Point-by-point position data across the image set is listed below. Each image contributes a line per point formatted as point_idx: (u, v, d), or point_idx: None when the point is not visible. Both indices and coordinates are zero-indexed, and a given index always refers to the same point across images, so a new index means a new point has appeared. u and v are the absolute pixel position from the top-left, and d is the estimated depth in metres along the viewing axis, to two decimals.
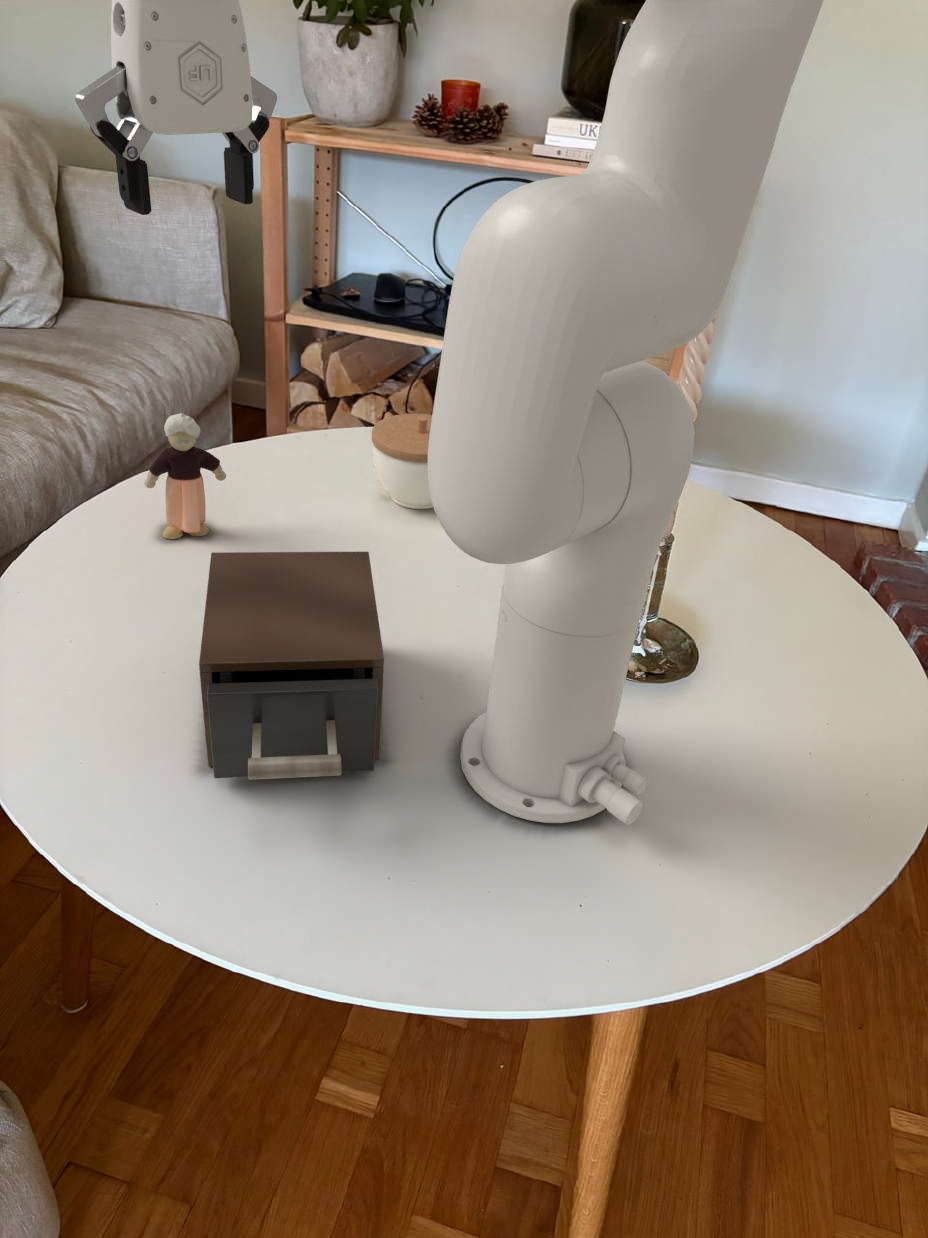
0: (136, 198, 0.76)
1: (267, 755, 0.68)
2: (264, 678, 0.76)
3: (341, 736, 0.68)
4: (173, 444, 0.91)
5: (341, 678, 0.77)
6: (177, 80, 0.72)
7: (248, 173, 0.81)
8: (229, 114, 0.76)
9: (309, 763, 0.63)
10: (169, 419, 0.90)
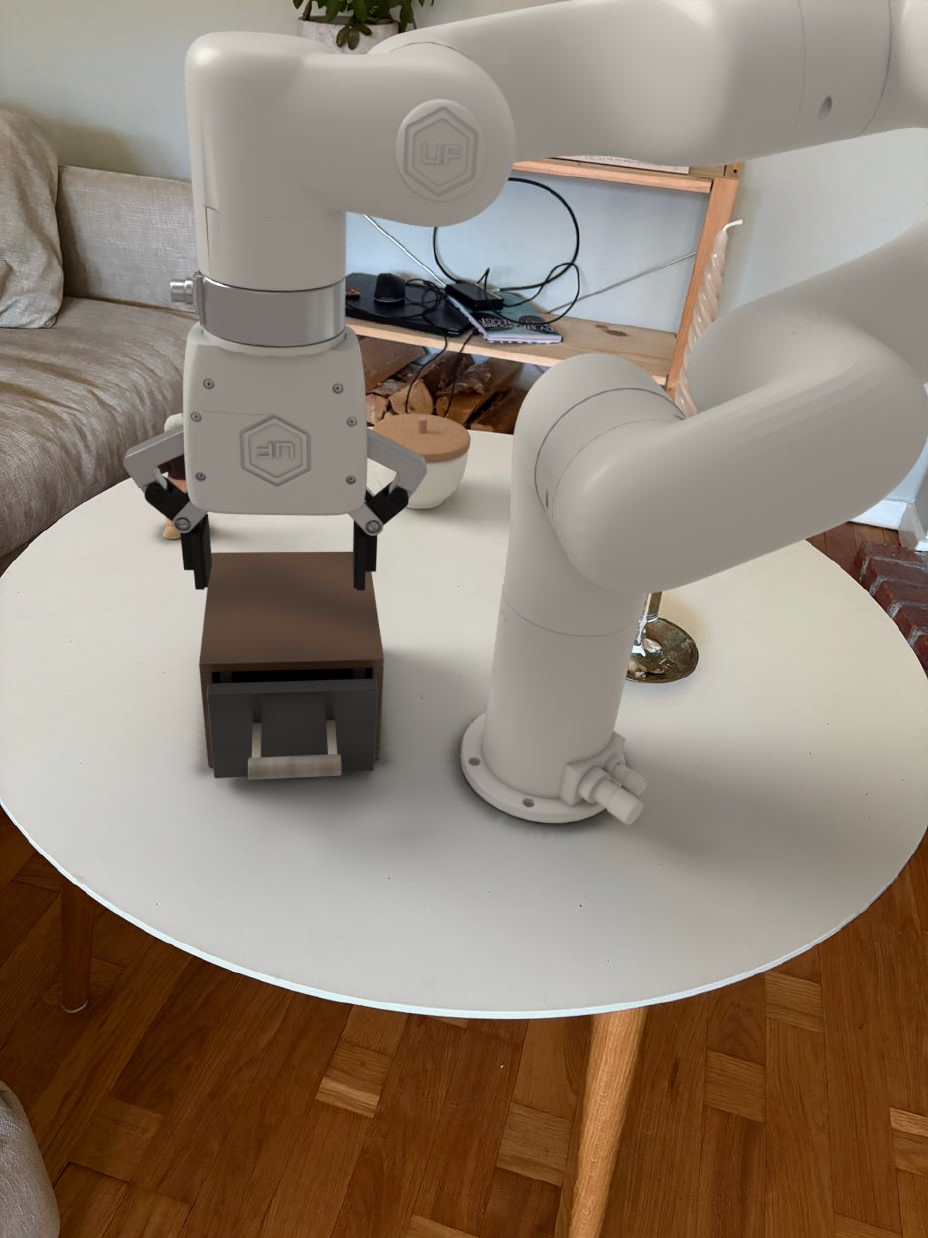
0: None
1: (267, 755, 0.68)
2: (264, 678, 0.76)
3: (341, 736, 0.68)
4: None
5: (341, 678, 0.77)
6: (238, 457, 0.52)
7: (360, 558, 0.58)
8: (320, 498, 0.54)
9: (309, 763, 0.63)
10: (169, 419, 0.90)
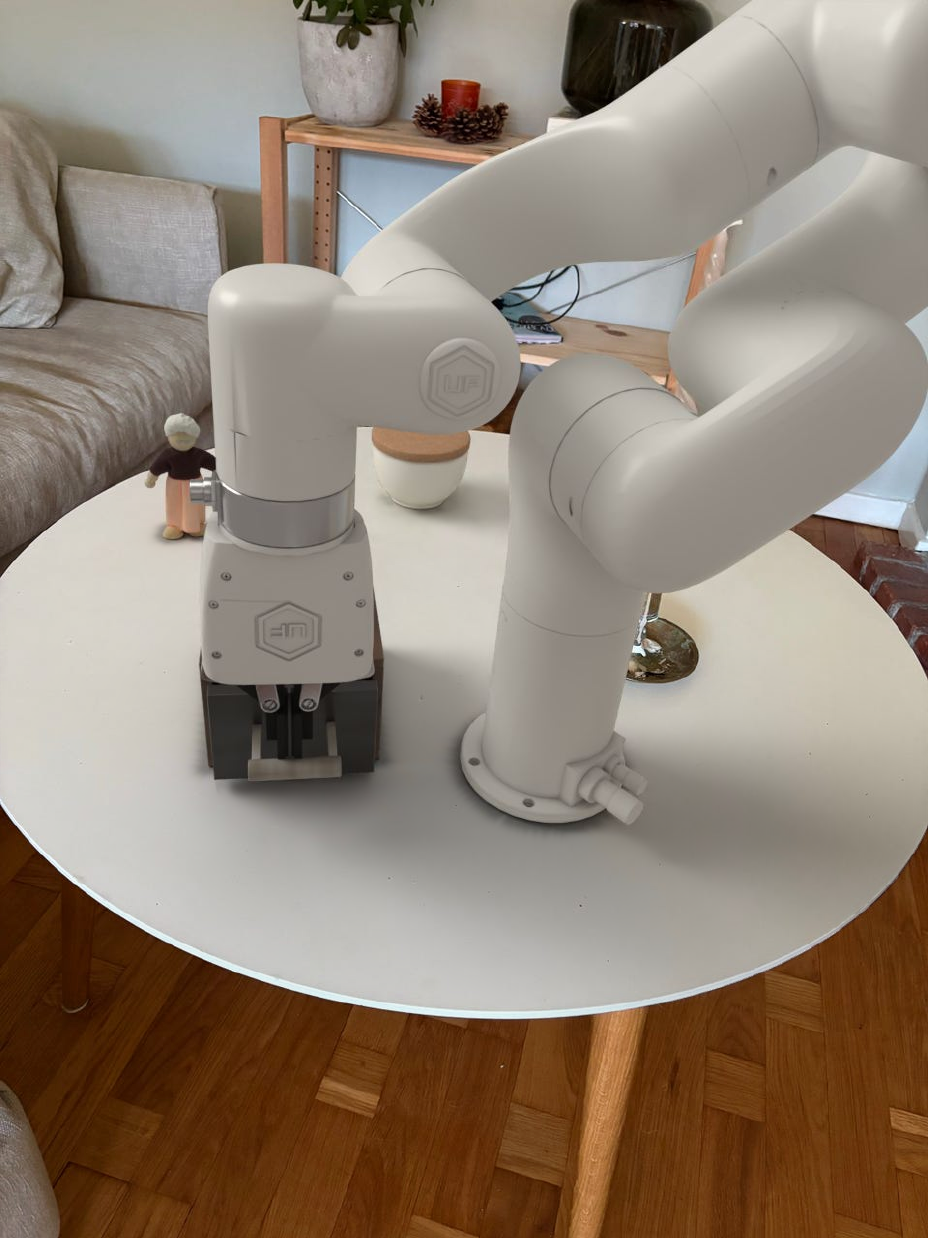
0: None
1: (267, 756, 0.68)
2: None
3: (341, 738, 0.68)
4: (173, 444, 0.91)
5: None
6: (252, 638, 0.55)
7: (297, 732, 0.61)
8: (329, 669, 0.57)
9: (309, 765, 0.62)
10: (169, 419, 0.90)
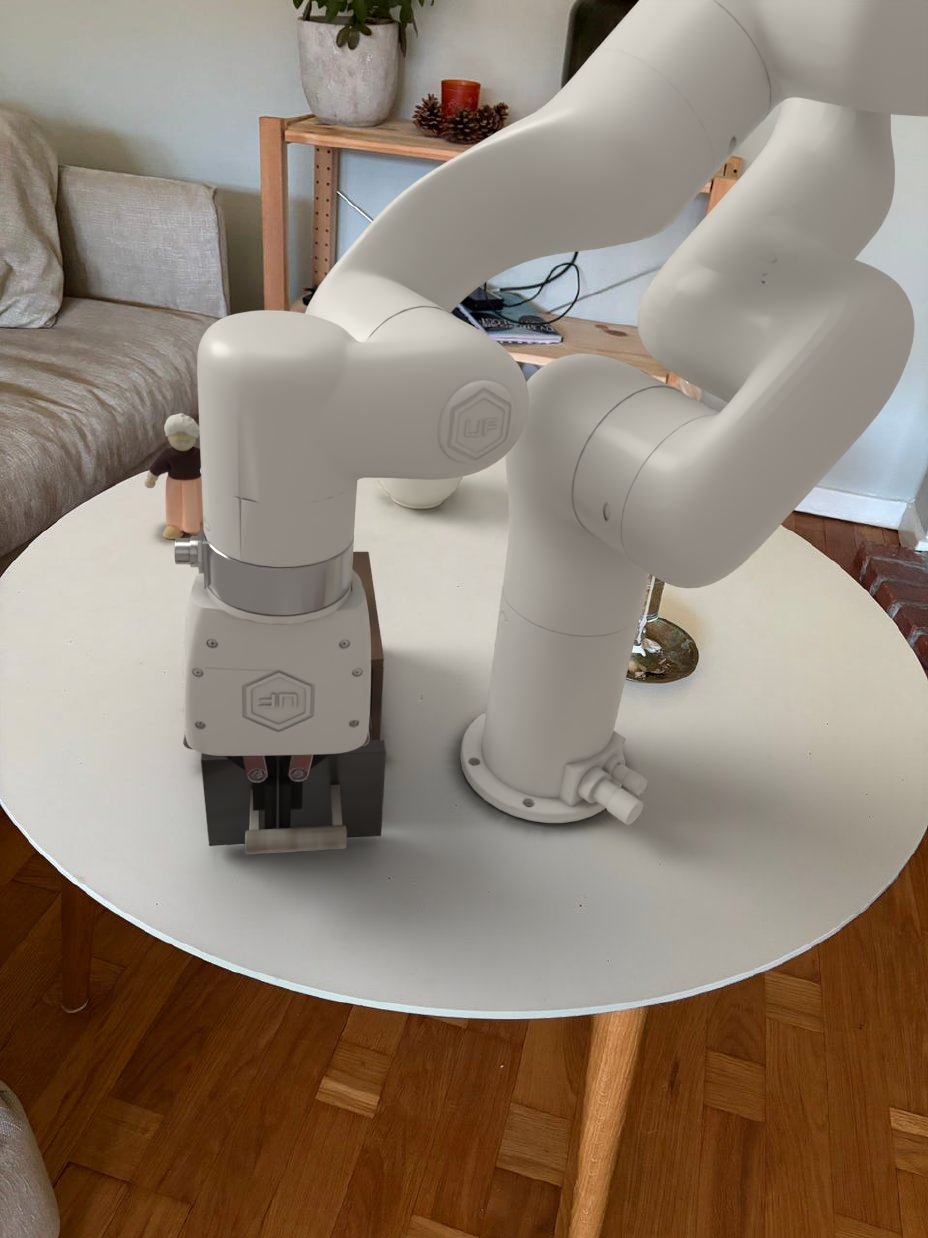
0: None
1: None
2: None
3: (346, 801, 0.63)
4: (173, 444, 0.91)
5: None
6: (239, 708, 0.51)
7: (285, 803, 0.57)
8: (322, 741, 0.53)
9: (312, 836, 0.58)
10: (169, 419, 0.90)
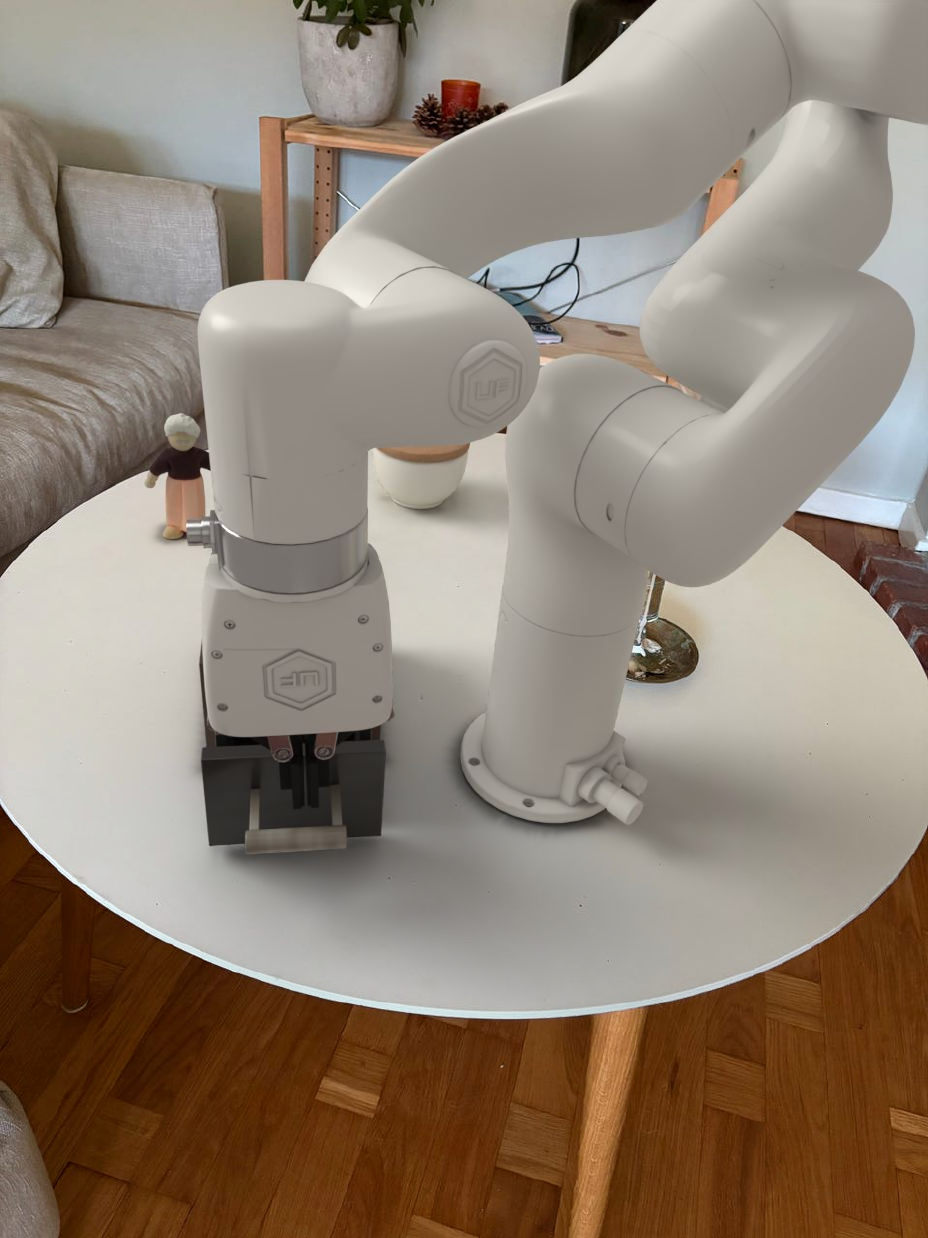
0: None
1: (266, 821, 0.63)
2: None
3: (346, 801, 0.63)
4: (173, 444, 0.91)
5: None
6: (261, 688, 0.51)
7: (312, 781, 0.57)
8: (346, 718, 0.53)
9: (312, 836, 0.58)
10: (169, 419, 0.90)
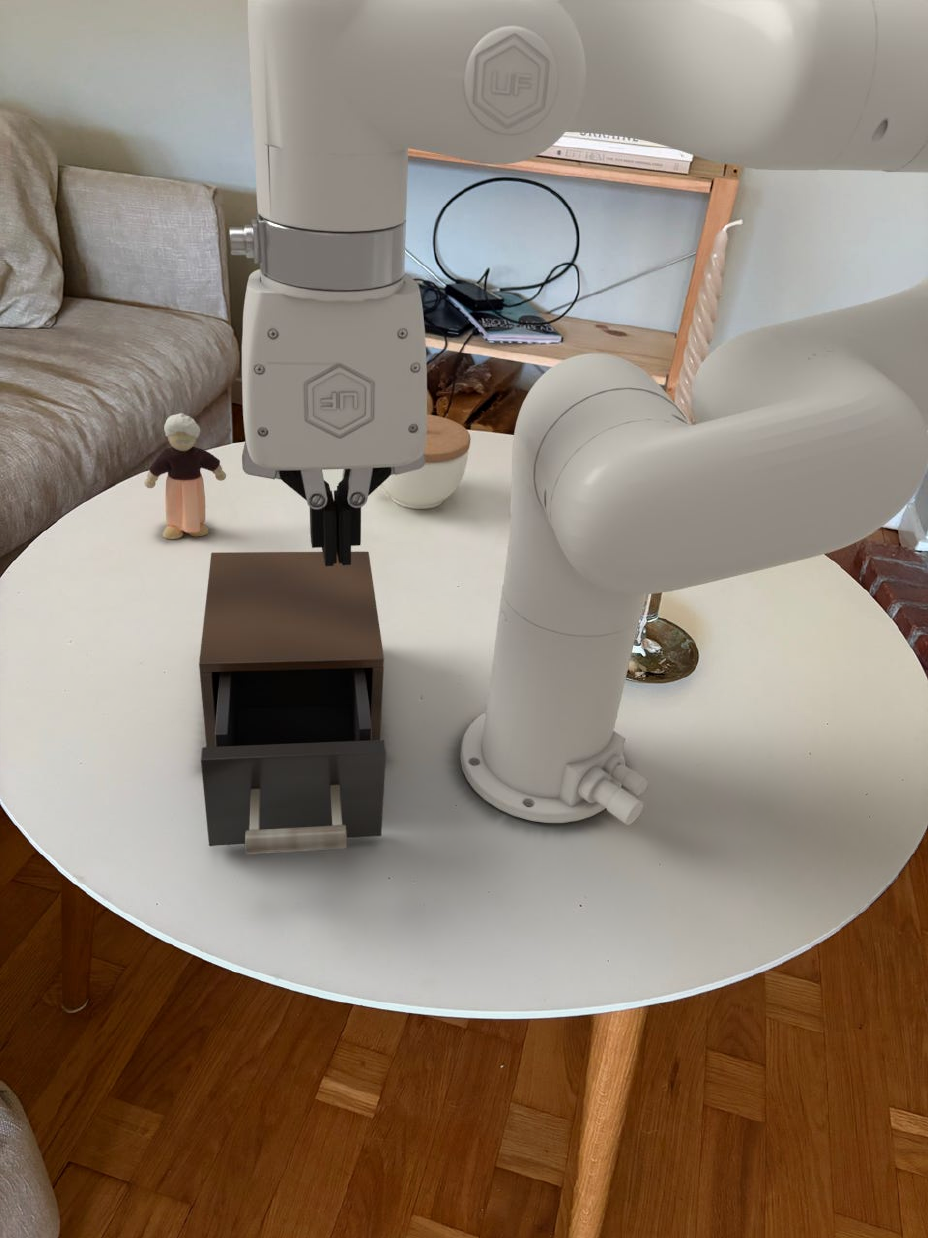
0: (322, 545, 0.59)
1: (266, 821, 0.63)
2: (263, 731, 0.71)
3: (346, 801, 0.63)
4: (173, 444, 0.91)
5: (345, 730, 0.72)
6: (301, 410, 0.51)
7: (345, 532, 0.58)
8: (382, 449, 0.54)
9: (312, 836, 0.58)
10: (169, 419, 0.90)
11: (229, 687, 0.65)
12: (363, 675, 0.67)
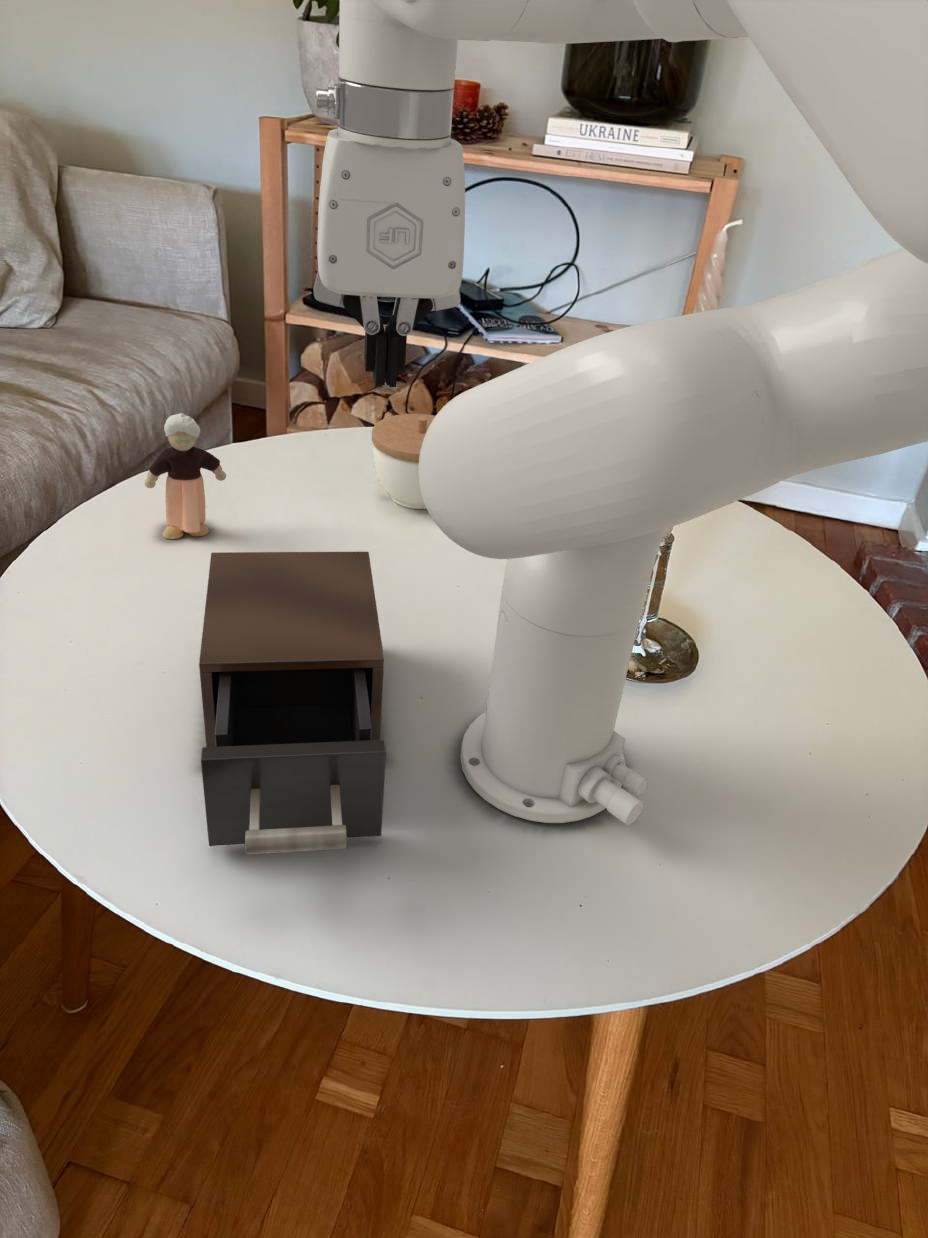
0: (373, 369, 0.72)
1: (266, 821, 0.63)
2: (263, 731, 0.71)
3: (346, 801, 0.63)
4: (173, 444, 0.91)
5: (345, 730, 0.72)
6: (364, 241, 0.65)
7: (393, 356, 0.71)
8: (426, 280, 0.67)
9: (312, 836, 0.58)
10: (169, 419, 0.90)
11: (229, 687, 0.65)
12: (363, 675, 0.67)
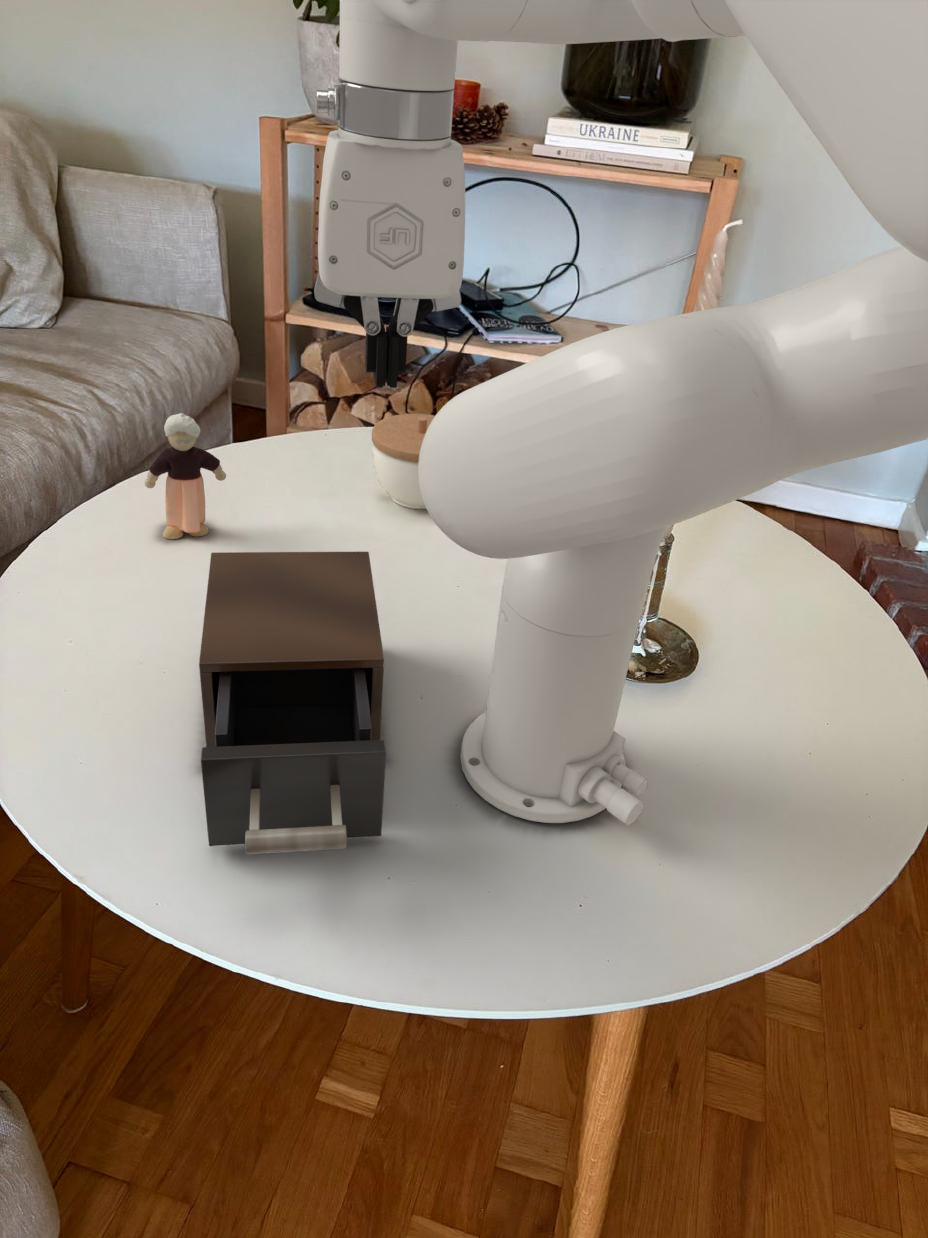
0: (374, 370, 0.72)
1: (266, 821, 0.63)
2: (263, 731, 0.71)
3: (346, 801, 0.63)
4: (173, 444, 0.91)
5: (345, 730, 0.72)
6: (364, 242, 0.65)
7: (394, 356, 0.71)
8: (427, 281, 0.67)
9: (312, 836, 0.58)
10: (169, 419, 0.90)
11: (229, 687, 0.65)
12: (363, 675, 0.67)
